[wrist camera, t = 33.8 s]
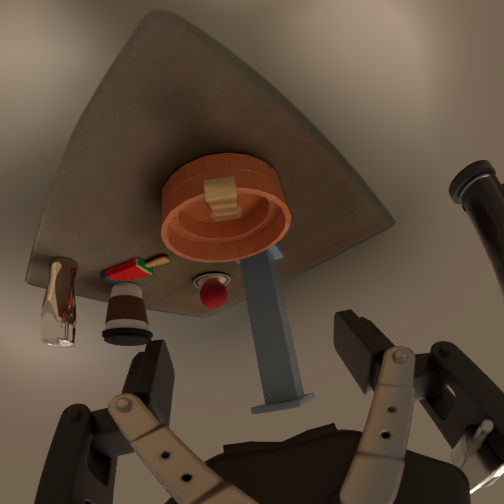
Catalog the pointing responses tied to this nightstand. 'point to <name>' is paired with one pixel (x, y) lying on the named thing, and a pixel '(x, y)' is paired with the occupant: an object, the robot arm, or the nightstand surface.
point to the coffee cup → (126, 317)
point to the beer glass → (60, 304)
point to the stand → (272, 333)
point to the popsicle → (131, 270)
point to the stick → (222, 198)
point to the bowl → (225, 231)
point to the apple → (212, 289)
